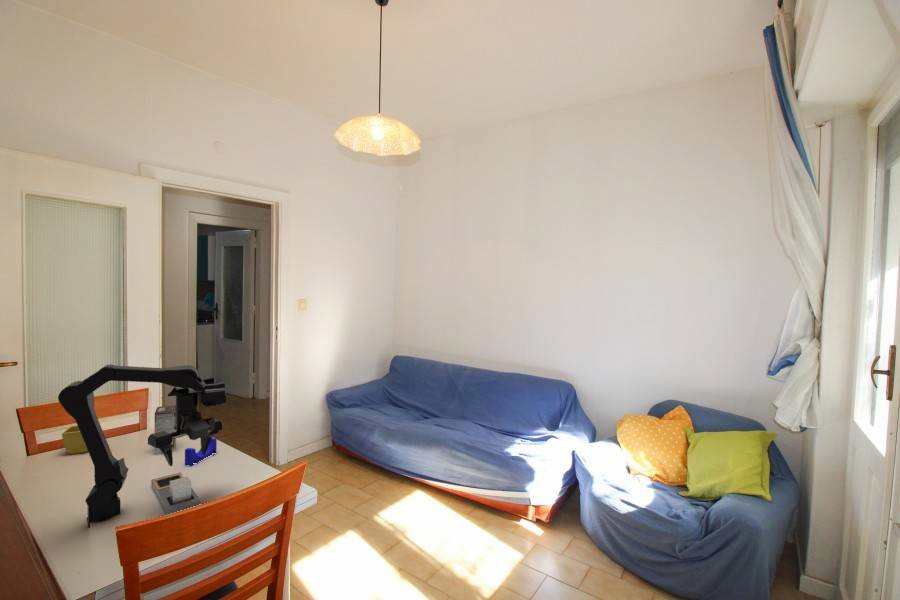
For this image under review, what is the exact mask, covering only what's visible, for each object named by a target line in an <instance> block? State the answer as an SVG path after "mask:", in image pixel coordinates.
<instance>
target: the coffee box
mask: <svg viewBox="0 0 900 600" xmlns="http://www.w3.org/2000/svg"><path fill="white" fill-rule="evenodd" d="M174 412H176V404H175V405H165V406H164V405H161V406H157V407H156V410H155V411H154V433H157V432H161V431H165V432H167V433H172V432H176V430H174V426H176V416H174ZM172 440H173V441H172V443H171V444H172V445H174V446H173V448H172V453H174V452H173V451H175V448H176V444H177V443H176V442H177V438H175V439H172ZM153 449H154V452H153V453H154V455H160V454H161V455H163V453H162V451H161V450H160V449H159V448H155V447H153Z"/></svg>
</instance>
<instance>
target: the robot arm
mask: <svg viewBox="0 0 900 600" xmlns="http://www.w3.org/2000/svg"><path fill="white" fill-rule="evenodd" d="M111 381H112V382H133V383H134V382H135V383H157V384H158V383H160V384H164V385H168V386H170V387H172V388H171V389H170V390H169V391H168V394H167V397H175V405H176V412H174V416H176V426H174V430H176V432H172V433H167V432H165V431H161V432H157V433H155V432H153V433H150V434H149V435H148V437H147V445H149V446H150V447H153V448H154V447H155V448H159V449H160V450H161V451H162V455H163V456H164V458H165V461H166V463H167V464H168V466H169V467H172V466H173V463H174V459H173V452H172V448H173V446H174V445H172V444H171V443H172V441H173V440H172V439H175V438H176V439H178V438H179V439H180V438H182V437H185V436H188V437H189V439H190V440H192V441H197V440H198V439H200V449H201V452H202V455H205V454H206V451H207V449H208V446H209V443H210V441H211V439H212V438H214V436H215V435H217V434H219V433H220V431H222V430H224V422H223V421H222V420H221V419H218V418H214V417H213V416H210V417H208V418H207V417H206V418H202V413H201V411H199V394H200V405H203V406H204V407H205V408H207V407H216V406H223V405H227V392H226V383H225V381H222V382H216V383H206V382H205V381H204V380H203V379H202V378H201V377H200V376H199V371H198V369H197V368H196V367H195V366H193V365H190V364H183V365H175V366H169V367H148V366H147V367H145V366H130V365H128V366H127V365H115V364H106V365H104V366H103V367H101V368H100V369H99V370H97V371H96V372H95V373H92V374H91V375H89V376H88V377H86V378H85V379H84V380H76V381H74V382H71V383H70V384H68V385H67V386H66V387H64V388H63V389H62V390H60V392H59V394H58V395H57V399H58V400H57V401H58V402H59V404H60V405H61V407H62V408H63V410H64V411H65V412H66V413H67V414H68V415H69V416H71V418H73V420H74V421H75V423H76V426H78V428H79V431H80V433H81V435H82V438H83V440H84V443H85V445H86V447H87V450H88V452H87V453H88V454H89V457H90V459H91V461H92V464H93V466H94V469H93V470H94V471H93V472H94V485H93V486H92V488H91V490H90V491H89V493H88V495H87V497H86V499H85V500H84V501H85V504H86V505H87V517H86V523H87V528H88V529H91V526H90V525H91V524H90V523H101V522H104V521H108V520H110V519H112V518H114V517H116V516H118V515H120V514H121V499H120V498H121V497H119V495H118V493H119V492H120V491H121V489H122V488H123V486H124V484H125V481H126V479H127V476H128V472H129V470H130V469H129V468H128V467H127V465H126V462H125V459H124V457H122V458H120V459H117V458H116V457H115V456H114V455H113V452H112V450H111V448H110V446H109V443H108V440H107V438H106V436H105V433H104V431H103V428H102V426H101V424H100V420H99V419H98V416H97V414H96V413H97V412H96V411H95V394H94V392H95V391H96V390H97V389H100V388H101V387H102V386H103V385H105V384H107V383H108V382H111Z"/></svg>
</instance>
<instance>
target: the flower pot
mask: <svg viewBox="0 0 900 600" xmlns="http://www.w3.org/2000/svg"><path fill="white" fill-rule="evenodd" d="M61 436H62V437H61V438H62V443H63V447H64V449H65V450H66V452H67V453H69V454H70V455H75V454H81V453H82V454H83V453H89V452H88V450H87V447H86V445H85V443H84V440H83V438H82V435H81V433H80V431H79V428H78V426H77V425H71V426H70V427H68V428H66V429H65V430H64V431H63V432H61Z"/></svg>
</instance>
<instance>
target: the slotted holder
mask: <svg viewBox="0 0 900 600" xmlns="http://www.w3.org/2000/svg"><path fill="white" fill-rule="evenodd" d="M184 477H185V476H184V475H183V474H182V472H177V473H172V474H169V475H165V476H162V477H157V478H153V479H151V482H150V486H151V489H152V490H153V492H154V494H155V495H156V497H157V499H158V501H159V503H160V505H161V506H162V509H163V510H164V512H165V515H167V514H170V513H174V512H177V511H180V510H184V509H187V508H190V507H193V506H197V505H199V504H201V499H200V497H199V495H197V493H196V491H195V490H194V489H193V487H191V500H189V501H185V502H182V503H179V504H175V505H172V506H171V505H170V481H172V480H176V479H180V478H184Z"/></svg>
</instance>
